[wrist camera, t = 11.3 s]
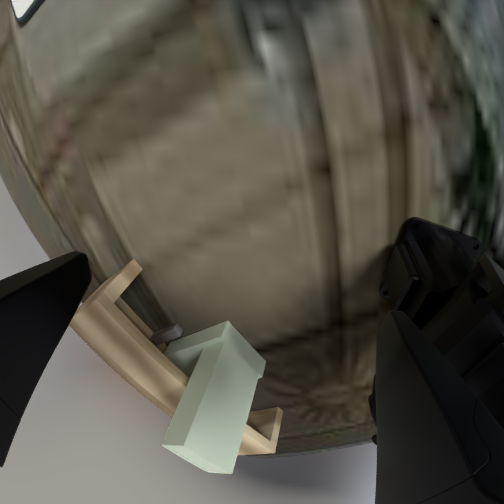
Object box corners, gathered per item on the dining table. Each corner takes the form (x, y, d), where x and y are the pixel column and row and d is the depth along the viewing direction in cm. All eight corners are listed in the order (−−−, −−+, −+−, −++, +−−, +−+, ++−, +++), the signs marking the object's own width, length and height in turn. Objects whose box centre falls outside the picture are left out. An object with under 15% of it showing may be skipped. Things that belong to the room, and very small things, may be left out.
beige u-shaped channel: (133, 258, 24) (96, 299, 19) (283, 411, 31) (274, 452, 26) (99, 285, 27) (66, 322, 22) (239, 418, 34) (228, 455, 29)
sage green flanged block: (227, 320, 25) (178, 442, 15) (266, 361, 27) (236, 475, 17) (170, 342, 29) (118, 437, 19) (206, 377, 31) (169, 470, 21)
